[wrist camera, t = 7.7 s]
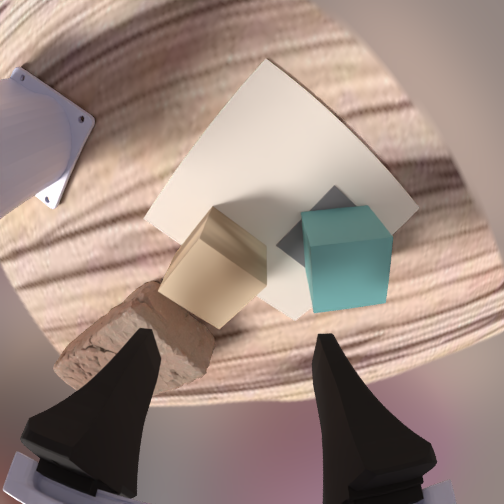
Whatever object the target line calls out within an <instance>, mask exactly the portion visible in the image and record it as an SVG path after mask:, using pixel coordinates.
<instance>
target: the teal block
mask: <svg viewBox="0 0 504 504" xmlns="http://www.w3.org/2000/svg"><path fill="white" fill-rule="evenodd" d="M301 219H302V231H303V243H304V256H305V271H306V276H307V281H308V286H309V291H310V296H311V301H312V307H313V312H314V313H319V312H327V311H334V310H342V309H349V308H356V307H363V306H369V305H376V304H382V303H386V296H387V289H388V281H389V273H390V264H391V255H392V244H393V236H392V235H391V234H390V232H389V231H388V230H387V229H386V227H385V226H384V225H383V223H382V222H381V221H380V220H379V218H378V217H377V216H376V215H375V213H374V212H373V211H372V210H371V208H370V207H369V206H368V205H366V206H355V207H345V208H335V209H325V210H316V211H306V212H301Z"/></svg>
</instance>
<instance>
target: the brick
mask: <svg viewBox="0 0 504 504" xmlns="http://www.w3.org/2000/svg"><path fill="white" fill-rule="evenodd" d="M160 285H161V284H159V283H157V282H155V281H150V282H147V283H145V284H144V285H143V286H141V287H140V288H137V289H136V290H135V291H134V292H133V293H132V294H130V295H129V296H128V297H127V298H126V300H125V301H124V303H122V304H120V305H118V306H116V307H114V308H112V309H111V310H110V311H109V313H108V314H107V315H105V316H103V317H101V318H100V319H99V320H98V321H97V322H95V323H94V324H93V325H92V326H90V327H89V328H88V329H86V330H85V331H84V332H83V333H82V334H81V335H79V336H78V337H77V338H76V339H75V340H74V341H72V342H71V343H70V344H69V345H68V346H67V347H66V348H65V350H64V351H63V352H62V354H61V356H60V357H59V359H58V361H56V363H55V364H54V367H53V369H54V371H55V372H56V374H57V375H58V376H59V377H60V378H61V379H62V380H64V381H65V382H66V383H67V384H68V385H70V386H71V387H73V388H74V389H76V390H77V391H78V390H79V389H80V388H81V387H83V386H84V385H85V384H86V383H87V382H89V381H90V380H91V379H92V378H93V377H94V376H95V375H96V374H97V373H98V372H99V371H100V370H101V369H102V368H103V367H104V366H105V365H106V364H107V363H108V362H109V361H110V360H111V359H112V358H113V357H114V356H115V355H116V354H117V353H118V352H119V351H120V349H121V348H122V347H123V346H124V345H125V344H126V343H127V341H128V340H129V339H130V338H131V337H132V336H133V335H134V333H135V332H136V331H137V330H138V329H139V328H148V329H152V330H153V334H154V337H155V340H156V343H157V346H158V350H159V353H160V356H161V364H160V370H159V375H158V379H157V383H156V386H155V389H154V392H153V395H152V396H154V395H158V394H160V393H164V392H167V391H170V390H172V389H177V388H179V387H181V386H182V385H183V384H189V383H191V382H193V381H194V380H195V379H196V378H202V377H203V376H204V375H205V374H206V370H207V368H208V366H209V363H210V359H211V356H212V353H213V350H214V347H215V338H214V337H213V335H212V334H211V332H209V331H208V330H207V327H206V326H205V325H203V324H202V323H200V322H199V321H197V320H196V319H195V318H193V317H192V316H191V315H190V314H189V313H188V311H187V310H185V309H184V308H183V307H182V306H180V305H178V304H177V303H175V302H174V301H172V300H171V299H169V298H168V297H166V296H164V295H163V294H161V293H160V292H158V290H159V287H160Z"/></svg>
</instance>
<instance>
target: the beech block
mask: <svg viewBox="0 0 504 504" xmlns="http://www.w3.org/2000/svg"><path fill="white" fill-rule="evenodd" d="M266 286H267V246H266V245H265V244H263V243H262V242H261V241H259V240H258V239H257V238H255V237H254V236H253V235H251V234H250V233H249V232H247V231H246V230H244V229H243V228H242V227H240V226H239V225H238V224H236V223H235V222H234V221H232V220H231V219H230V218H228V217H227V216H226V215H224V214H223V213H221V212H220V211H219V210H217V209H216V208H215V207H213V206H212V207H211V209H210V210H209V211H208V212H207V214H206V215H205V216H204V217H203V219H202V220H201V221H200V222H199V224H198V225H197V226H196V227H195V229H194V230H193V231H192V232H191V234H190V235H189V236H188V238H187V239H186V240H185V241H184V243H183V244H182V245H181V247H180V248H179V249H178V251H177V252H176V254H175V256H174V258H173V260H172V262H171V264H170V266H169V268H168V270H167V272H166V274H165V277H164V279H163V281H162V283H161V285H160V287H159V290H158V292H160V293H161V294H163V295H164V296H166V297H168V298H169V299H171V300H172V301H174V302H175V303H177V304H178V305H180V306H182V307H183V308H185V309H186V310H188V311H190V312H191V313H193V314H195V315H196V316H198V317H199V318H201V319H203V320H204V321H206V322H208V323H209V324H211V325H213V326H214V327H216V328H218V329H220V328H222V327H223V326H224V325H225V324H226V323H227V322H228V321H229V320H230V319H232V318H233V317H234V316H235V315H236V314H237V313H238V312H239V311H240V310H241V309H243V308H244V307H245V306H246V305H247V304H248V303H249V302H250V301H251V300H252V299H253V298H254V297H256V296H257V295H258V294H259V293H260V292H261V291H262V290H263V289H264V288H265V287H266Z"/></svg>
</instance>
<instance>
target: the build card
mask: <svg viewBox="0 0 504 504" xmlns="http://www.w3.org/2000/svg"><path fill="white" fill-rule="evenodd" d="M366 205H368V206H369V207H370V208H371V210H372V211H373V212H374V213H375V215H376V216H377V217H378V218H379V220H380V221H381V222H382V223H383V225H384V226H385V227H386V229H387V230H388V231H389V232H390V234H391V235H393V234H394V233H395V232H396V231H397V230H398V229H399V228H400V227H401V226H402V225H403V224H404V223H405V222H406V221H407V220H408V219H409V218H410V217H411V216H412V215H413V214H414V213H415V212H416V211H417V210H418V209H419V206H418V205H417V204H416V203H415V201H414V200H413V199H412V198H411V197H410V195H409V194H408V193H407V192H406V190H405V189H404V188H403V187H402V186H401V185H400V183H399V182H398V181H397V180H396V179H395V178H394V176H393V175H392V174H391V173H390V172H389V171H388V170H387V169H386V167H385V166H384V165H383V164H382V163H381V162H380V161H379V160H378V159H377V158H376V157H375V155H374V154H373V153H372V152H371V151H370V150H369V149H368V148H367V147H366V146H365V145H364V144H363V143H362V142H361V141H360V140H359V139H358V138H357V137H356V136H355V135H354V134H353V133H352V132H351V131H350V130H349V129H348V128H347V127H346V126H345V125H344V124H343V123H342V122H341V121H340V120H339V119H338V118H337V117H335V116H334V115H333V114H332V113H331V112H330V111H329V110H328V109H327V108H326V107H325V106H323V105H322V104H321V103H320V102H319V101H318V100H317V99H316V98H314V97H313V96H312V95H311V94H310V93H309V92H307V91H306V90H305V89H304V88H303V87H301V86H300V85H299V84H298V83H297V82H295V81H294V80H293V79H292V78H291V77H289V76H288V75H287V74H286V73H284V72H283V71H282V70H280V69H279V68H278V67H277V66H275V65H274V64H273V63H271V62H270V61H269V60H267V59H265V60H264V61H263V62H262V63H261V64H260V65H259V66H258V68H257V69H256V70H255V71H254V72H253V73H252V74H251V75H250V77H249V78H248V79H247V80H246V81H245V82H244V83H243V85H242V86H241V87H240V88H239V89H238V90H237V92H236V93H235V94H234V95H233V96H232V98H231V99H230V100H229V101H228V102H227V104H226V105H225V106H224V107H223V109H222V110H221V111H220V112H219V113H218V115H217V116H216V117H215V118H214V120H213V121H212V122H211V124H210V125H209V126H208V127H207V129H206V130H205V131H204V133H203V134H202V135H201V137H200V138H199V139H198V140H197V142H196V143H195V144H194V146H193V147H192V149H191V150H190V151H189V153H188V154H187V155H186V157H185V158H184V159H183V161H182V162H181V164H180V165H179V166H178V168H177V169H176V171H175V172H174V174H173V175H172V176H171V178H170V179H169V181H168V182H167V184H166V185H165V187H164V188H163V190H162V191H161V193H160V194H159V196H158V197H157V199H156V200H155V202H154V203H153V205H152V206H151V208H150V209H149V211H148V213H147V214H146V216H145V217H144V219H145V220H146V221H147V222H149V223H150V224H152V225H153V226H154V227H156V228H157V229H159V230H160V231H162V232H163V233H164V234H166V235H167V236H169V237H170V238H172V239H173V240H174V241H176V242H177V243H179V244H180V245H182V244H183V243H184V241H185V240H186V239H187V238H188V236H189V235H190V234H191V232H192V231H193V230H194V229H195V227H196V226H197V225H198V224H199V222H200V221H201V220H202V219H203V217H204V216H205V215H206V214H207V212H208V211H209V210H210V209H211V207H212V206H213V207H215V208H216V209H217V210H219V211H220V212H221V213H223V214H224V215H226V216H227V217H228V218H230V219H231V220H232V221H234V222H235V223H236V224H238V225H239V226H240V227H242V228H243V229H244V230H246V231H247V232H249V233H250V234H251V235H253V236H254V237H255V238H257V239H258V240H259V241H261V242H262V243H263V244H265V245H266V246H267V286H266V287H265V288H264V289H263V290H262V291H261V292H260V293H259V294H258V295H257V297H259V298H260V299H262V300H263V301H265V302H266V303H268V304H270V305H271V306H273V307H274V308H276V309H277V310H279V311H280V312H282V313H283V314H285V315H287V316H288V317H290V318H291V319H293V320H294V321H296V320H297V319H298V318H300V317H301V316H302V315H303V314H304V313H306V312H307V311H308V310H309V309H310V308H312V301H311V296H310V291H309V286H308V281H307V276H306V271H305V256H304V243H303V231H302V219H301V212H306V211H316V210H325V209H335V208H345V207H355V206H366Z"/></svg>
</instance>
